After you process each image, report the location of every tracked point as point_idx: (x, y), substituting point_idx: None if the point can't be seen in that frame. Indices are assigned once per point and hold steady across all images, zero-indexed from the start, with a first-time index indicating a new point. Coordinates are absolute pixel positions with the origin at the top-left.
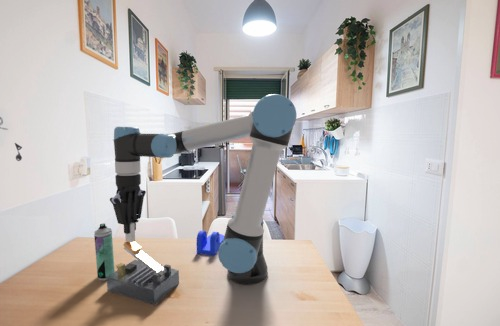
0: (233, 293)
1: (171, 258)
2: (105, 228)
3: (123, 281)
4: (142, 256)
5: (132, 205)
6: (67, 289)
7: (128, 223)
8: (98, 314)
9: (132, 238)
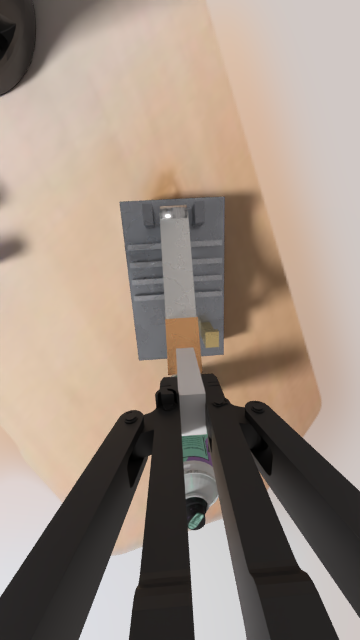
0: (85, 5)
1: (51, 316)
2: (194, 494)
3: (223, 302)
4: (181, 293)
5: (188, 550)
6: (240, 406)
7: (224, 402)
8: (272, 293)
9: (190, 354)
